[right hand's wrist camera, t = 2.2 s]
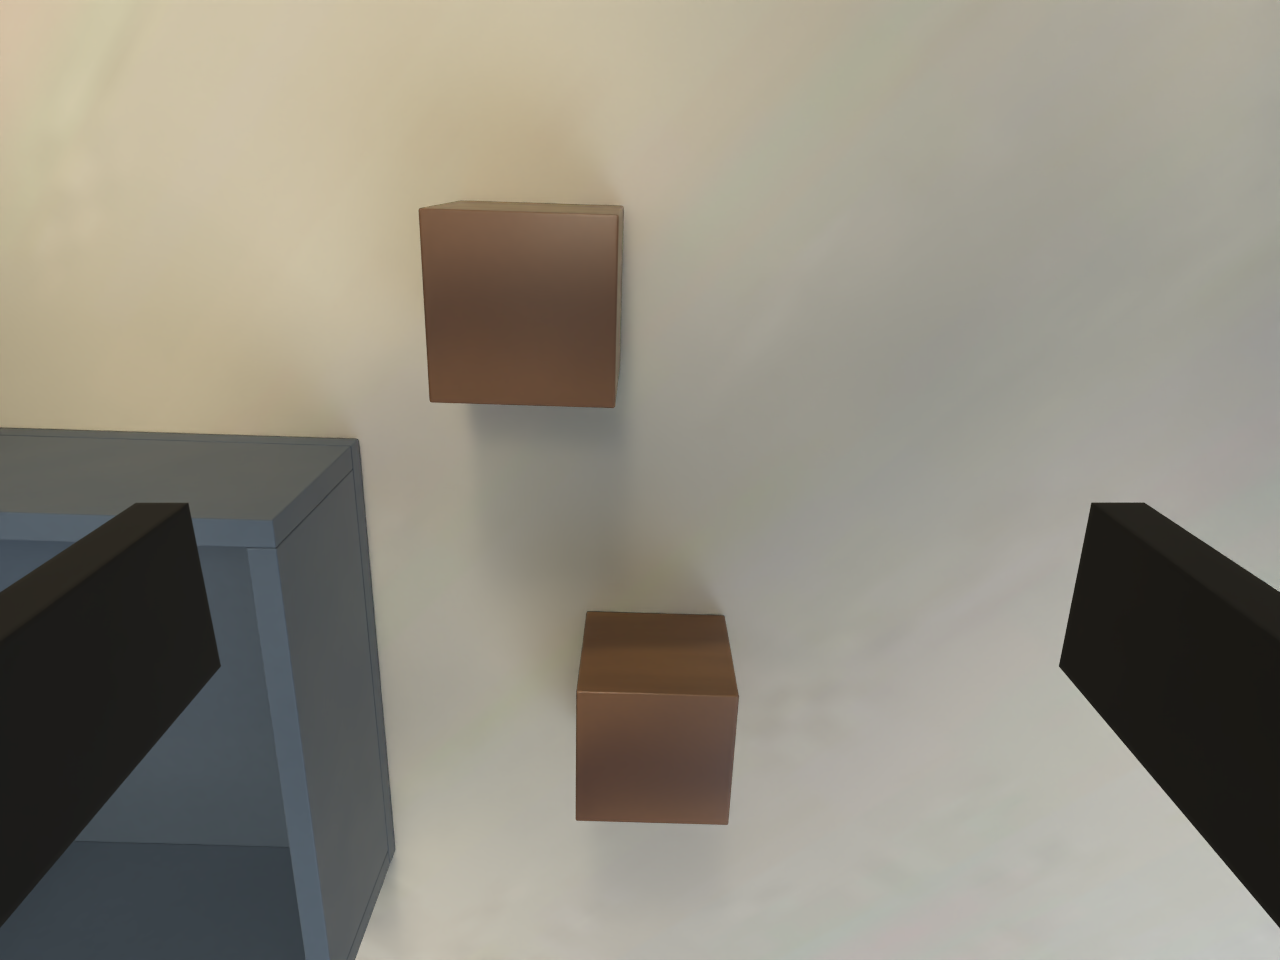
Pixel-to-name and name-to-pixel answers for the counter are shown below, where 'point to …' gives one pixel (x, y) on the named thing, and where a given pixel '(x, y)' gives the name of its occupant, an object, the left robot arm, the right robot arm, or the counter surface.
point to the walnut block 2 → (655, 719)
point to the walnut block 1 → (522, 302)
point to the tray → (224, 707)
